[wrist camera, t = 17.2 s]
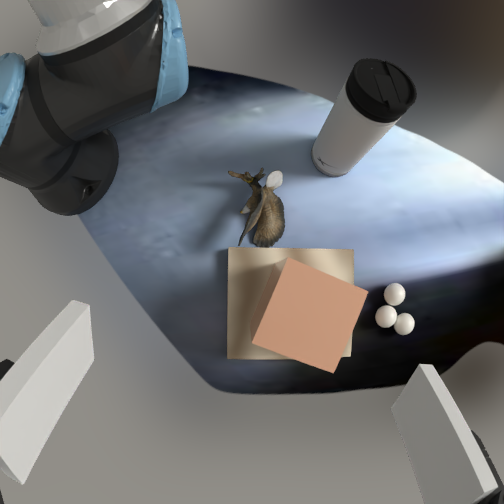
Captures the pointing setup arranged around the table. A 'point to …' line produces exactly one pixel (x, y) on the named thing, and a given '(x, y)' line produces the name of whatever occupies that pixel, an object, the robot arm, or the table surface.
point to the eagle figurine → (263, 208)
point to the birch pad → (254, 281)
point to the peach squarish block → (306, 314)
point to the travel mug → (362, 115)
